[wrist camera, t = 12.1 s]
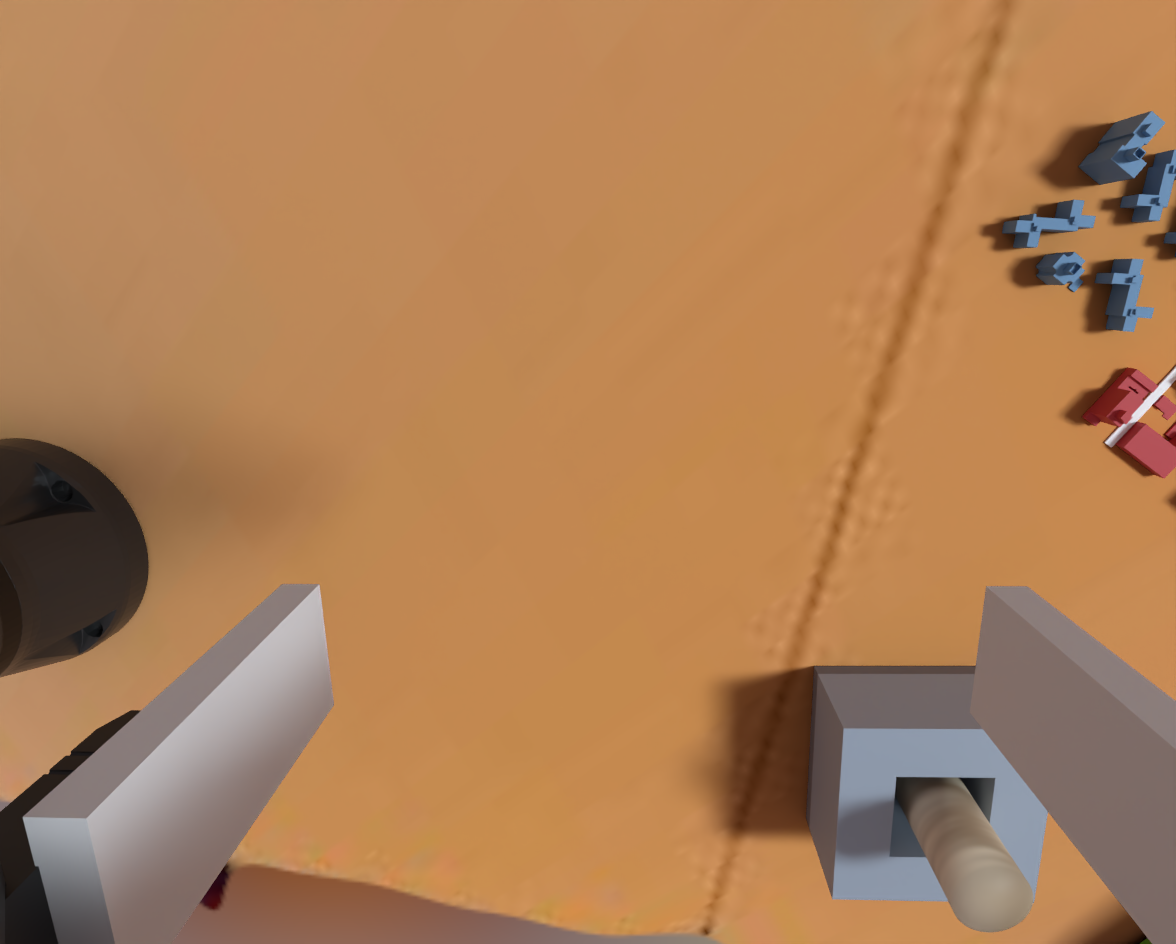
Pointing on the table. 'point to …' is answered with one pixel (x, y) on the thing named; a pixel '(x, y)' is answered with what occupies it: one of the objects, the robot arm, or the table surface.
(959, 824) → the peg
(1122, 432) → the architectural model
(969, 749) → the socket block
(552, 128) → the table surface
